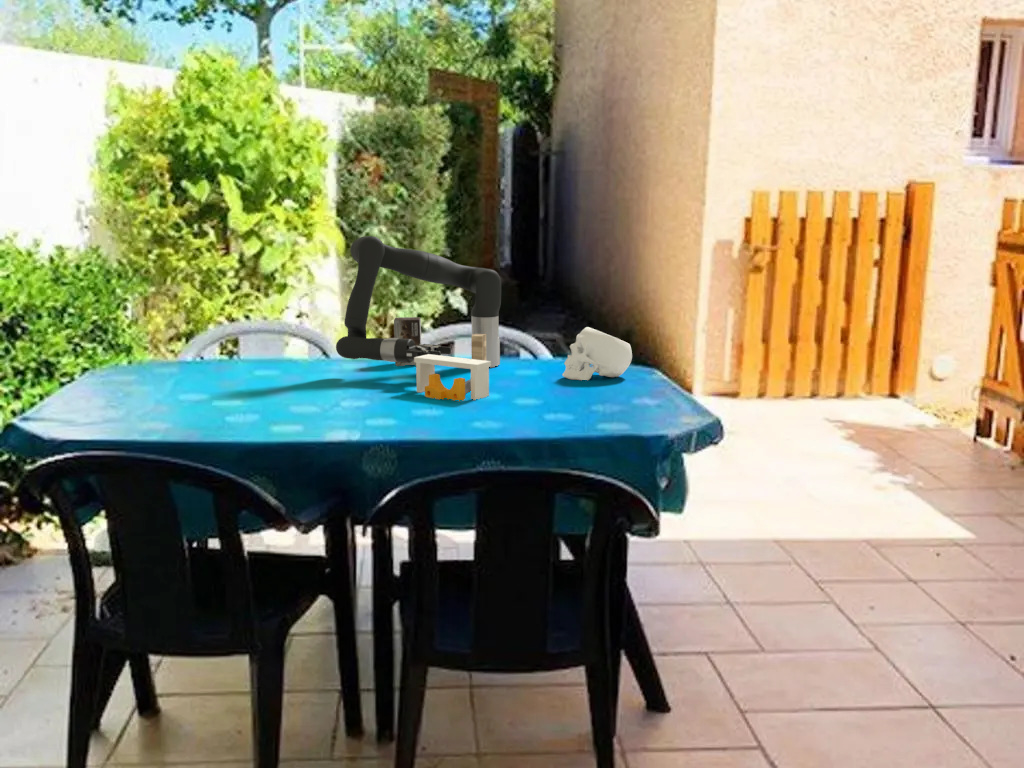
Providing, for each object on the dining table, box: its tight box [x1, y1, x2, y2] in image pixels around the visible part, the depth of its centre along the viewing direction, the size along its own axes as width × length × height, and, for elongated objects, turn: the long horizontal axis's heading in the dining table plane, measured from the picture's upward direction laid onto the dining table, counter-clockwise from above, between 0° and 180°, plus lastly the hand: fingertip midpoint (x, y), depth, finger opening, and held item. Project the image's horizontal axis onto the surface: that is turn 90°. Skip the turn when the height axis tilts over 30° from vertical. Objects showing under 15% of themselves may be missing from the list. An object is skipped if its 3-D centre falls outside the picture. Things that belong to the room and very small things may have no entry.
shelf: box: [414, 354, 491, 401], centre depth 302 cm, size 7×23×10 cm, turn 57°
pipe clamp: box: [424, 373, 466, 402], centre depth 297 cm, size 12×4×6 cm, turn 51°
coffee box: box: [393, 316, 422, 367], centre depth 351 cm, size 9×6×16 cm
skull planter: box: [561, 326, 633, 381], centre depth 328 cm, size 14×20×19 cm
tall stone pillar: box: [465, 334, 486, 395], centre depth 306 cm, size 20×4×16 cm, turn 161°
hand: (445, 352), depth 316 cm, fingers open, 8 cm apart
